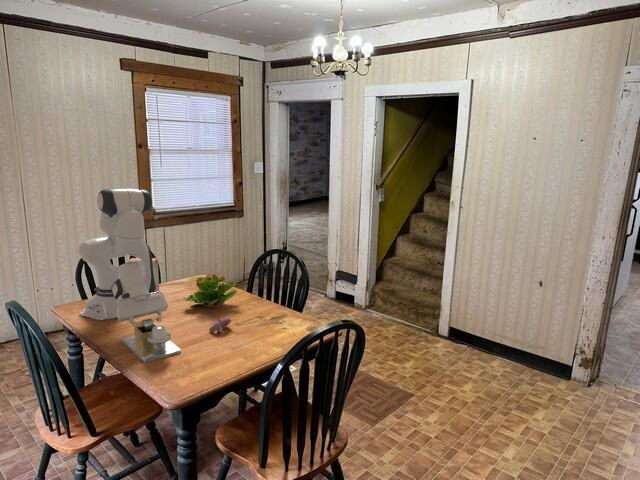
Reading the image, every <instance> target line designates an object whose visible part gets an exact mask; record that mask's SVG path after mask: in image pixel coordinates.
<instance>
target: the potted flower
mask: <svg viewBox="0 0 640 480" xmlns="http://www.w3.org/2000/svg"><path fill="white" fill-rule="evenodd" d="M224 281H226V277H225V276H224V275H223V276H221V277H219V276H218V274H217V273H213V274H211V273H207V274H206V276H205V277H204V276H201V277H200V276H199V277H197V278H196V281H195V282H196V283H195V285H196V287H197V288H198V289H197V292H196V291H195V293H194V294H190V295H189V296H188V297H187V298H186V297H183V299H184V301H186V302H193V303H195V304H202V305H203V306H204V307H205V308H218V307H220V306H222V304H224V303H225V302H226V301H228V300H230V299H232V298H233V297H234V296H235V295H236V294H237V293H238V290H237V289H232V288H233V287H235V286H236V285H238V283H237V282H234V281H229V282H228V283H226V284H225V283H224ZM230 289H232V290H230ZM226 292H227V293H226Z"/></svg>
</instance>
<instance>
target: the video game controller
mask: <svg viewBox="0 0 640 480" xmlns="http://www.w3.org/2000/svg"><path fill="white" fill-rule="evenodd" d="M231 321H232V319H230V318H229V317H227V316H226V317H223V318H220V319H219V320H217V321H216V322H214V324H213V325H211V326H210V327H209V329H208V331H209V332H210V333H215V332H218V333H219V332H221V330H225V329H227V326H228V325H230V324H231Z"/></svg>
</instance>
